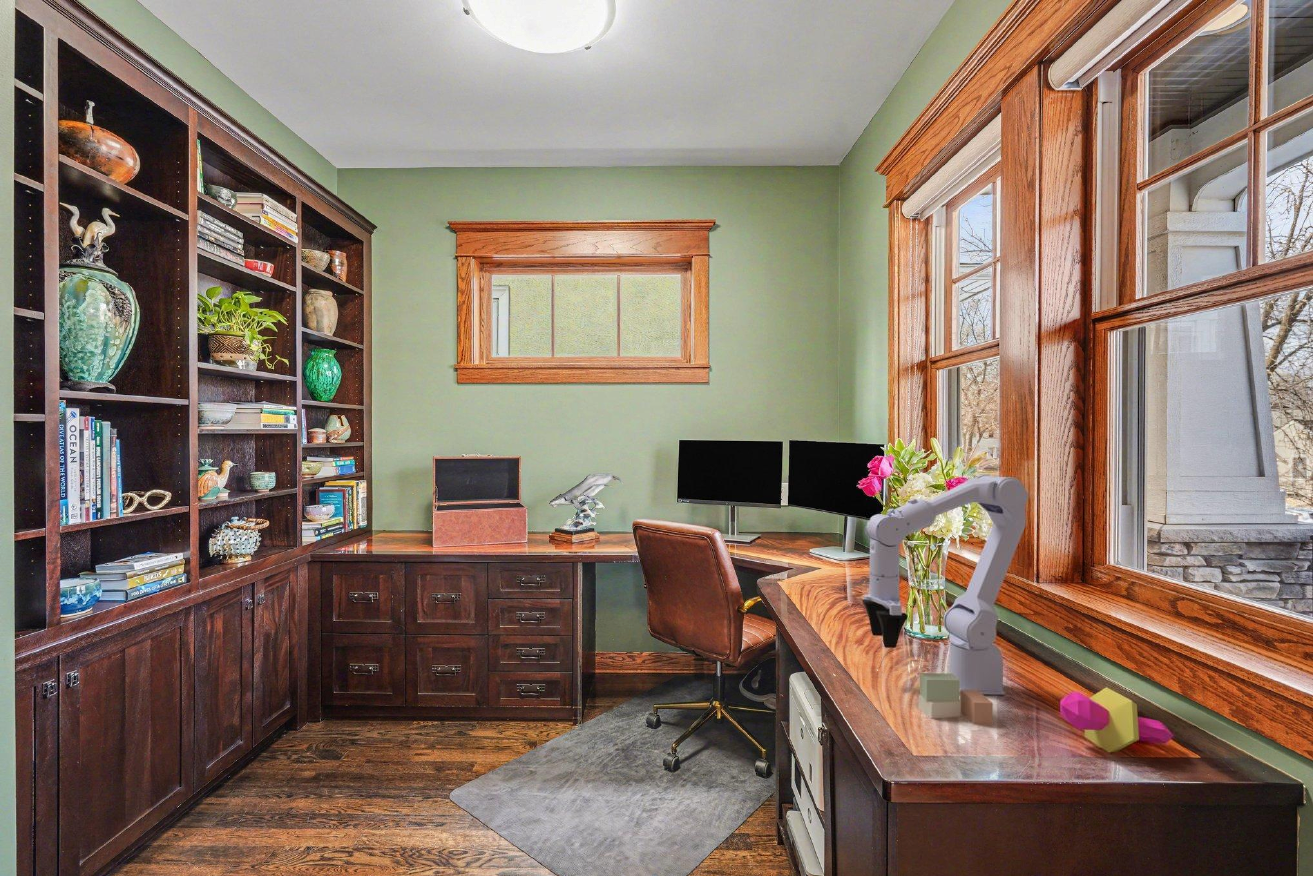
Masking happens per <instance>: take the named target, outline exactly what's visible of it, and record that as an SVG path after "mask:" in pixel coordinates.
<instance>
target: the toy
mask: <svg viewBox="0 0 1313 876" xmlns="http://www.w3.org/2000/svg"><path fill="white" fill-rule="evenodd" d="M1059 703H1060V708H1059V709H1060V716H1061V717H1062V718H1063V719H1065V720H1066V721H1067V722H1068V723H1070V724H1071V725H1072V727H1074V728H1075V729H1076V730H1078V731H1079V730H1082V731H1084V737H1085V739H1087V740H1089V741H1091V742H1092V743H1093V744H1095V745H1096V746H1098V747H1099V748H1102V749H1103V750H1104V751H1106V752H1107V753H1109V754H1110V753H1116V752H1118V751H1120V750H1122V749H1124V748H1125V747H1128V746H1129V745H1132V744H1133V743H1135V742H1137V741H1138V742H1144V743H1152V744H1167V743H1168V742H1170V741H1171V739H1172V738H1173V737H1174V734H1173V733H1172V732H1171V731H1170V730H1169V728H1168V727H1167V726H1166V725H1165V724H1164V723H1162V722H1161V721H1160V720H1158V719H1157V720H1156V719H1151V718H1145V717H1141V716H1138V705H1137V703H1135V702H1134V701H1133V700H1131V699H1129V698H1127V697H1125V696H1123V695H1122V694H1120V693H1118V692H1116V691H1114V690H1112V689H1110V688H1109V687H1106V686H1105V688H1103V689H1101V690H1100V691H1098V692H1096V693H1094V694H1093V695H1092V696H1090V697H1088V696H1086V695H1084V694H1082V693H1081V692H1079V691H1074V692H1069V693H1068V694H1067V695H1065V696H1064V697H1063V698H1062V699H1061V700H1060V702H1059Z"/></svg>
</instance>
